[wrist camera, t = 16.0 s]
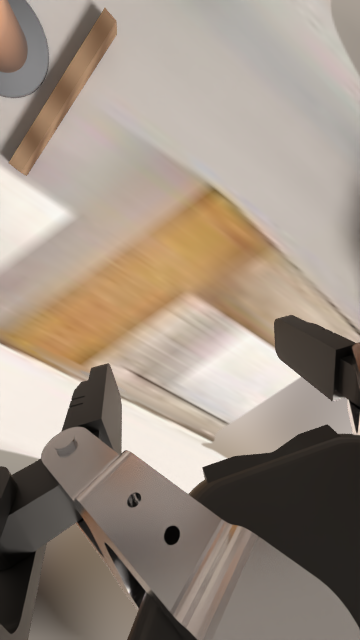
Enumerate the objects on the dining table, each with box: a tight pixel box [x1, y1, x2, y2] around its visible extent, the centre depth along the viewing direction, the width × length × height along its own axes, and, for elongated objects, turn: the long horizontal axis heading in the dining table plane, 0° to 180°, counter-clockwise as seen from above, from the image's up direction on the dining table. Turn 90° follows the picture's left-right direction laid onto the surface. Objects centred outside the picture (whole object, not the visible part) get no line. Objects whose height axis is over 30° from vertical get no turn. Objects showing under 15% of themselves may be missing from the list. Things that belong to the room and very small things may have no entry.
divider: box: [9, 8, 117, 176], centre depth 30 cm, size 20×2×2 cm, turn 140°
